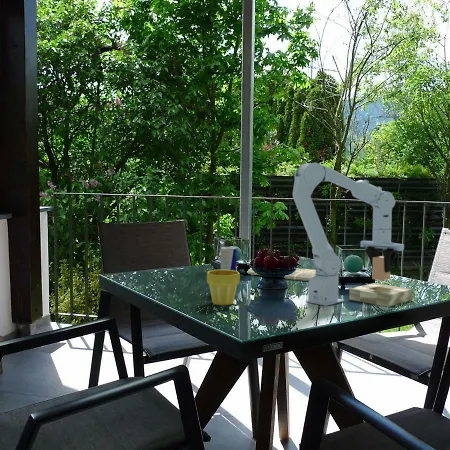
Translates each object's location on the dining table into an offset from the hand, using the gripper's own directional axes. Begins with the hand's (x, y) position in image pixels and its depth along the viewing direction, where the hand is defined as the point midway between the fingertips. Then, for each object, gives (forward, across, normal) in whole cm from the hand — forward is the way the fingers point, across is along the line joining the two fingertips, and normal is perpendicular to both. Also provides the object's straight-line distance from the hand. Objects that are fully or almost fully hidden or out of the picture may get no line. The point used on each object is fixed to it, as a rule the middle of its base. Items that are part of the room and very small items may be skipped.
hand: (381, 271), depth 179 cm
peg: (+2, 0, 0) cm, 3 cm away
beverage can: (+10, +45, +25) cm, 52 cm away
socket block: (+9, 0, 0) cm, 9 cm away
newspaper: (+10, +54, -13) cm, 57 cm away
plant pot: (+10, +31, +40) cm, 51 cm away
